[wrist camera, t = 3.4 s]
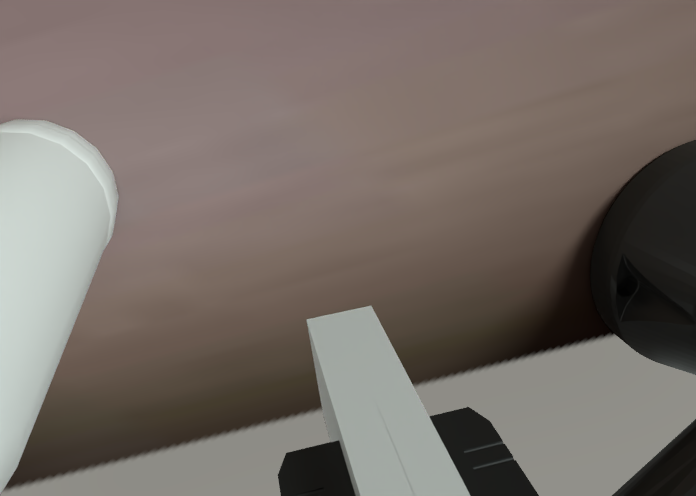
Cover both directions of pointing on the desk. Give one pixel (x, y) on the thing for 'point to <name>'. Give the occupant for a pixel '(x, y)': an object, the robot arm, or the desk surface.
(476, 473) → the robot arm
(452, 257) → the desk surface
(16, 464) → the bottle
